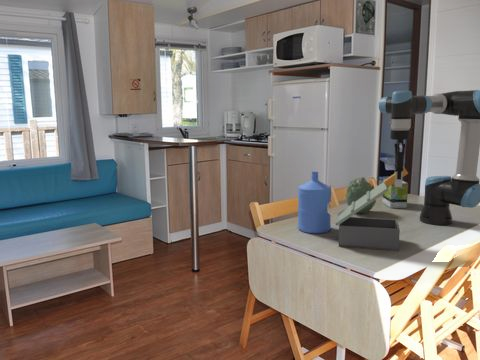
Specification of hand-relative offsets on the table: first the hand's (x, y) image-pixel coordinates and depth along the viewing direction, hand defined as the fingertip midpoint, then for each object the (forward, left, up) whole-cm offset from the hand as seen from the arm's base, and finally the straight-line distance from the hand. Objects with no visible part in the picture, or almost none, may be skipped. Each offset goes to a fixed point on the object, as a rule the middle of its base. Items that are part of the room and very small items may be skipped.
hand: (398, 185), depth 178 cm
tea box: (-4, -75, -26) cm, 79 cm away
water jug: (+36, -15, -26) cm, 47 cm away
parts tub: (+11, 0, -26) cm, 28 cm away
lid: (+10, 0, -5) cm, 12 cm away
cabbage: (+15, -52, -26) cm, 60 cm away
